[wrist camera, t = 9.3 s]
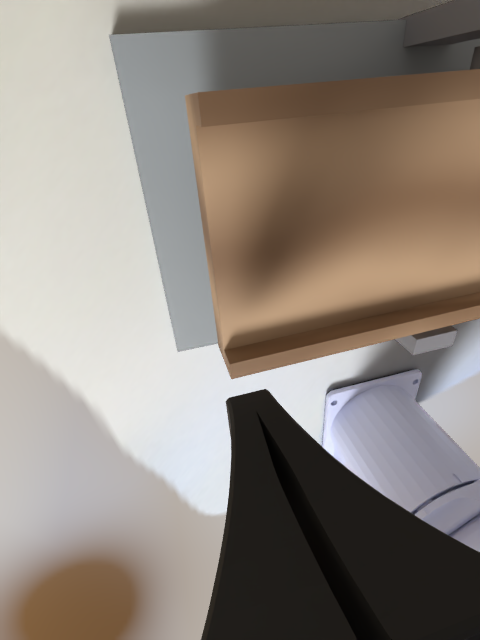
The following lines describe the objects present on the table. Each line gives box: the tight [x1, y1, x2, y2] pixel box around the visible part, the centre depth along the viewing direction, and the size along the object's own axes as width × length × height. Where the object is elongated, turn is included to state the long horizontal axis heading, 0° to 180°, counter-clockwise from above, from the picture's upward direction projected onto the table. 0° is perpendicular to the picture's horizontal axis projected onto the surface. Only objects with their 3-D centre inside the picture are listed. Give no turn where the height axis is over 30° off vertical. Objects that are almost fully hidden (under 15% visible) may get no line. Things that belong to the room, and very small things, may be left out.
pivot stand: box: [109, 0, 480, 355], centre depth 17 cm, size 14×26×6 cm, turn 94°
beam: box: [185, 46, 480, 379], centre depth 15 cm, size 11×22×3 cm, turn 94°
